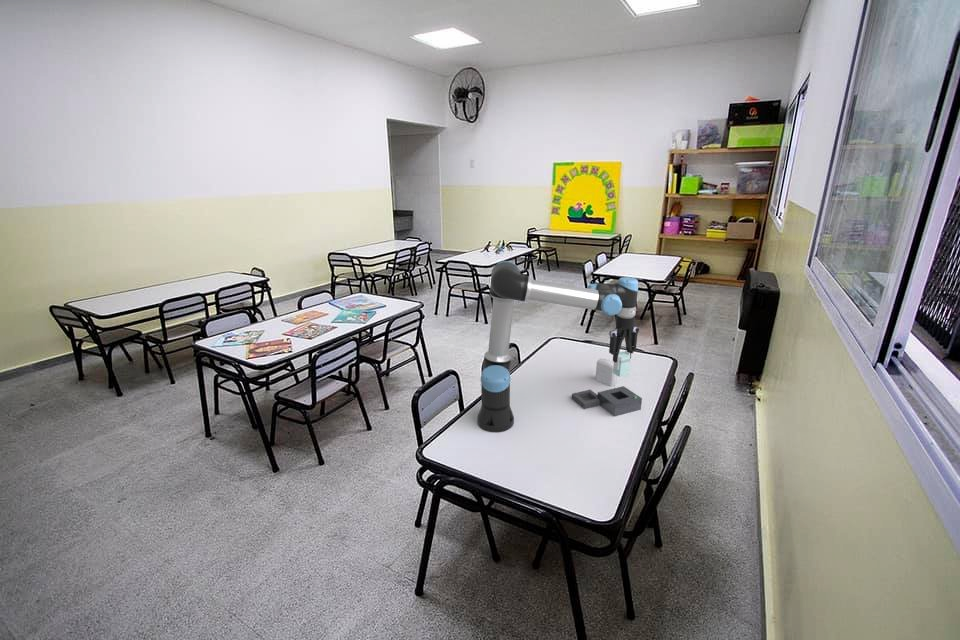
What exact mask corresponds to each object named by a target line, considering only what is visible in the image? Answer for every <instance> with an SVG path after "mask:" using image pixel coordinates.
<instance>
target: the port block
mask: <svg viewBox="0 0 960 640" xmlns="http://www.w3.org/2000/svg"><path fill="white" fill-rule="evenodd" d="M597 395H598V396H597V398H598V399H599V400H600V407H601V408H602V409H603V410H605V411H607V413H609V414H610V415H611V416H612V417H614V418H615V417H618V416H622V415H625V414H629V413H633V412H637V411H640V410H642V401H643V398H642V397H641V396H639V395H638V394H637V393H635V392H633V391H631V390H630V389H629V388H628V387H625V386H624V385H622V386H619V387H618V386H617V387H614V388H610V389H607V390H602V391H598V392H597Z"/></svg>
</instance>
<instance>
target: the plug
mask: <svg viewBox="0 0 960 640" xmlns="http://www.w3.org/2000/svg"><path fill="white" fill-rule="evenodd" d="M619 355H620V362H619V370H617V369H615V368H613V373H614V374H615V375H616V377H619V378H622V377H626V376H629V373H630V372H629V371H630V361H631V359H630V355H628V354H626V353H625V351H619Z"/></svg>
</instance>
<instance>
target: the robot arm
mask: <svg viewBox="0 0 960 640" xmlns="http://www.w3.org/2000/svg"><path fill="white" fill-rule="evenodd" d="M490 273H491V274H490V277H491V279H490V289H489V295H490V296H491V298H492V307H491V317H490V318H491V320H490V330H489V339H488V340H489V341H488V350H487V351H486V352H485V353H484V355H483V365H482V372H481V374H480V387H481V388H480V389H481V392H480V394H481V406H480V410H479V413H478V416H477V424H478V426H479V427H480V428H481V429H482V430H484V431H487V432H490V433H501V432H505V431H508V430H509V429H511V428H512V427H513V426H514V424H515V417H514V416H515V415H514V414H513V410H512V408H511V364H512V362H511V361H512V355H510V354H511V353H509V350H510V340H511V333H512V332H511V331H512V324H513V323H512V322H513V314H514V313H513V312H514V305H515V301H517V302H518V301H519V302H527V301H528V300H529V301H537V302H543V303H549V304H553V305H554V304H555V305H561V306H567V307H575V308H581V309H584V310H585V309H587V310H593V311H599V312H602V313H604V314H605V315H607V316H609V317H610V316H611V317H612V316H615V328H614V331H609V348H608V353H609V354H611V355H612V362H614V365H613V368H615V369H617V370H619V362H620V355H619V353H620V352H621V349H622V348H621V347H622V344H623V341H624V342H625V343H624V344H625V349H626V350H624V353H626V354H628V355H630V360H631V358H632V354H634V351H636V350H637V342H638V334H639V331H640V328H638V327H636V326H635V324H636V317H635V316H636V314H637V313H636V312H637V304H638V303H637V302H638V301H637V300H638V294H639V293H638V292H639V280H638V279H637V278H635V277H629V276H627V277H626V276H624V277H620V278H619V279H618V282H617V283H616V282H615V283H589V284H588V285H587V288H586V287H581V286H574V285H569V284H568V285H567V284H562V283H556V282H550V281H545V280H543V281H542V280H537V279H532V278H531V276H529V275H525V274H524V275H523V274H521V270H520V268H519V267H518V265H517V264H515V263H514V262H512V261H508V260H504V261H503V260H502V261H500V262H498V263H497V264H496V265H494V266H493V268H492V270H491V272H490Z"/></svg>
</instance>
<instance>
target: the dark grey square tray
mask: <svg viewBox="0 0 960 640" xmlns="http://www.w3.org/2000/svg"><path fill="white" fill-rule="evenodd" d="M597 396H598V393H596V392H594V391H593V390H592V389H587V390H581V391H578V392H573V393H571V400H572V401H574V402H575V403H576V404H577V405H578V406H580V407H581V408H582V409H583V410H588V409H591V408H596V407H599V406H600V400H599V399H598V398H597ZM600 407H601V406H600Z"/></svg>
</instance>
